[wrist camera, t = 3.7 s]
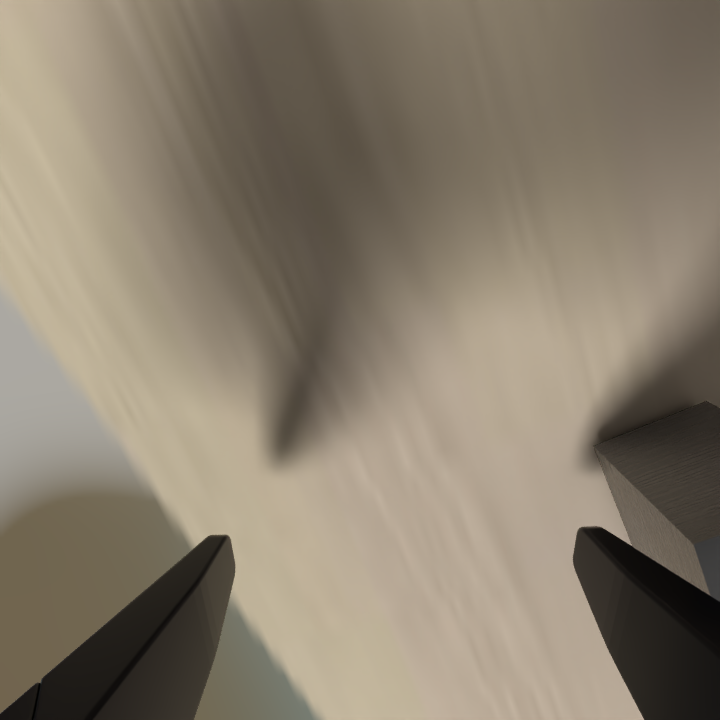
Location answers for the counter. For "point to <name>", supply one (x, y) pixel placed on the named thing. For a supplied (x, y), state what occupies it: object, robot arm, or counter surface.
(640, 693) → the robot arm
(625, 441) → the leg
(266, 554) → the counter surface
